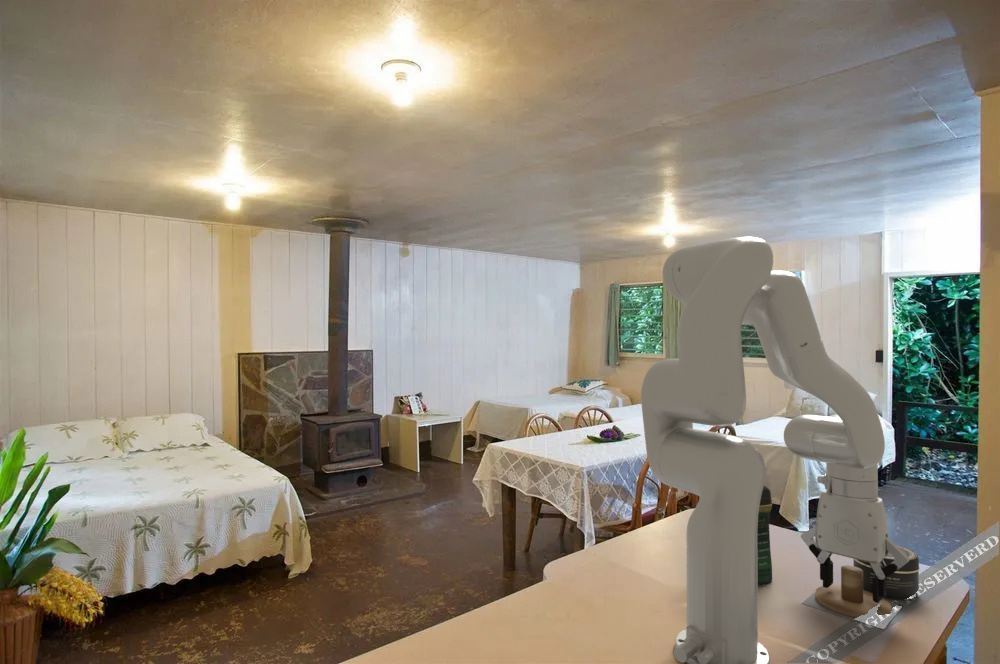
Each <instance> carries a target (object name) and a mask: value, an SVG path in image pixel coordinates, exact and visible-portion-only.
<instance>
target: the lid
mask: <svg viewBox="0 0 1000 664" xmlns="http://www.w3.org/2000/svg"><path fill="white" fill-rule="evenodd" d="M840 581H841V582H840V585H839V584H837V585H835V584H832V585H831V586H829V587H828V588H824V587H823V585H822V586H819V587H817V588H816V589H815V592H814V593H815V598H816V601H817V602H818V603H819V604H820V605H822V606H823V607H825V608H826V609H828V610H830V611H833V612H835V613H838V614H841V615H844V616H847V617H851V618H857V617H859V616H861V615H865V614H867V613H868V611H869V610H870V609H872V608H873V607H875V606H877V605H878V604H880V603H881V604H880V607H878V610H877V614H878V615H885V614H890V613H891V611H892V608H891V605H890V603H889V602H890V601H888V600H887V599H886V598H882V599H881V601H880V602H879V603H876V602H874V601H873V593H871V592H868V591H865V590H863V570H862V569H860V568H857V567H854V565H841V567H840Z"/></svg>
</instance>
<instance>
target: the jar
mask: <svg viewBox="0 0 1000 664" xmlns="http://www.w3.org/2000/svg"><path fill="white" fill-rule="evenodd" d="M895 545H896V546H897V547H898V548H899V549H900V550H901V551H902V552H903V553H905V554H906V555H907V556H908V557H909V561H908V562H907V563H906V564H905V565H904V566H902V567H901V568H899V569H898V570H897V571H896V572H894V573H892V574H891V575H889V576H887V577H886V587H887V593H886V597H885V598H884V597H883V598H884V599H888V598H889V599H890V600H896V601H905V600H904V599H907V598H909V597H910V596H912V595H914V594H915V593H916V592H917V591H918V592H919V586H920V583H919V582H920V581H919V580H920V579H919V578H920V576H919V571H920V563H919V562H920V561H919V556H918V554H916V552H914V551H913V550H911V549H908V548H906V547H903V546H899V545H897V544H895ZM883 560H884V562H885V564H886V566H887V565H888V564H890V563H891V562H893V561H894V560H895V558H894V556H893V555H892V554H891V553H890V552H889V553H888V555H887V556H886V557H884V559H883ZM853 566H854V567H857V568H860V569H862V570H863V590H865V591H868V592H871V593H873V577H874V576H875V572H874V570H873V568H872V566H871V564H870V562H866V561H861V560H857V559H853ZM889 599H888V600H889Z"/></svg>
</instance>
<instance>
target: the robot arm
mask: <svg viewBox="0 0 1000 664" xmlns="http://www.w3.org/2000/svg"><path fill="white" fill-rule="evenodd" d="M773 266H774V255H773V249H772V247H771V246H770V244H769V243H768V242H767V241H766V240H764V239H763V238H759V237H755V236H739V237H738V236H737V237H730V238H726V239H721V240H716V241H710V242H707V243H702V244H696V245H693V246H687V247H683V248H680V249H678V250H675V251H673V252H672V253H671V254H670V255H668V257H667V258H666V260H665V262H664V264H663V267H662V271H661V272H662V279H663V280H662V281H663V284H664V286H665V288H666V290H667V291H668V292H669V294H670V295H671V296H672V297H673V298H674V299H676V300H677V301H678V302H679V303H681V304H683V305H684V306H683V309H682V311H681V313H680V317H679V319H678V327H677V336H678V337H677V339H678V341H677V342H678V356H679V357H678V358H666V359H661V360H659V361H656V362H655V363H654V364H652V365H651V366H650V368H649V369H648V370H647V371H646V373H645V375H644V378H643V381H642V385H641V391H640V399H641V400H640V402H641V412H642V422H643V430H644V431H643V432H644V439H645V440H644V441H645V448H646V449H645V450H646V456H647V463H648V465H649V468H650V470H651V472H652V474H653V476H654V477H655V478H656V479H657V481H659V482H660V483H662V484H664V485H666V486H667V487H671V488H674V489H677V490H679V491H680V490H681V491H683V492H687V493H690V494H693V495H695V496H697V497H699V500H698V503H697V504H696V506H695V508H694V509H693V511H692V513H691V514H690V516H689V518H688V521H687V526H686V628H685V629H683V630H681V631H680V632H678V634H677V635H676V637H675V647H674V649H673V655H674V658H675V659H676V660H677V661H678V662H679V663H686V664H771V657H770V653H769V652H768V649H767V648H766V647H765V646H764V645H763V644H762V643H761V642H760V641H758V639H759V637H758V636H759V633H758V629H759V627H758V626H759V625H758V623H759V622H758V618H759V617H758V616H759V615H758V608H759V607H758V603H759V601H758V600H759V599H758V597H759V596H758V593H759V592H758V590H759V589H758V586H759V585H758V580H757V561H758V559H757V528H758V513H759V505H760V499H761V494H762V490H763V486H765V478H766V463H765V460H764V457H763V455H762V453H761V452H760V450H759V449H758V448H757V446H755V445H754V444H752V443H751V442H750V441H748V440H746V439H743V438H741V437H739V436H736V435H732V434H726V433H721V432H715V431H709V430H700V429H695V428H694V424H698V425H705V426H711V427H712V426H714V427H726V426H731V425H734V424H736V423H738V422H739V421H741V419H742V418H743V416H744V415H745V413H746V412H745V411H746V409H747V390H746V377H745V369H744V359H743V358H744V357H743V348H742V345H743V344H742V326H747V325H749V326H753V327H754V328H755V331H756V333H757V336H758V339H759V342H760V345H761V347H762V350H763V353H764V356H765V359H766V361H767V365H768V368H769V371H771V373H772V374H773V375H774V376H775V377H777V378H778V379H781V380H782V381H784V382H786V383H788V384H790V385H792V386H794V387H795V388H797V389H800V390H802V391H804V392H805V393H808V394H810V395H812V396H814V397H816V398H818V399H819V400H820V401H822V402H823V403H824V404H826V405H827V406H828V407H830V409H832V410H833V411H834V413H836V414H831V415H830V416H829V415H828V416H827V415H826V416H825V415H817V414H802V415H797V416H796V417H793V418H792V419H791V420H789V422H787V424H786V426H785V428H784V430H783V441H784V444H785V446H786V447H787V449H788V451H790V452H791V453H792V454H794V455H795V456H797V457H800V458H802V459H805V460H810V461H814V462H821V463H826V467H825V474H824V475H817V477H816V479H817V483H818V484H822V485H824V489H825V490H821V492H820V495H819V500H818V503H817V511H816V522H815V526H814V527H812V528H810V529H808V530H806V531H805V532H803V533H801V535H800V537H801V539H802V541H803V542H804V543H805V545H806V546H807V548H808V549H809V551H810V552H811V553H812V554H813V556H814V557H815V558H816V561H817V562H818V564H819V579H820V581H822V586H823V587H824V588H828V587H829V586H831V585H834V562H833V560H832V559H831V557H832V555H838V556H842V557H846V558H848V559H849V558H850V559H853V560H854V559H857V560H861V561H866V562H870V564H871V566H872V568H873V570H874V572H875V576H874V577H873V601H874V602H876V603H879V602H880V601H881V599H882V598H883V597H884V599H886V598H885V597H886V593H887V587H886V577H887V576H889V575H891V574H892V573H894V572H896V571H897V570H898V569H899V568H901V567H902V566H904V565H905V564H906V563H907V562H908V561H909V557H908V556H907V555H906V554H905V553H903V552H902V551H901V550H900V549H899V548H898V547H897V546H898V545H897V544H895V543H894V542H893V541H892V540H891V539H890V538H889V530H888V529H889V528H888V521H887V515H886V510H885V509H886V508H885V505H884V502H883V499H882V498H881V497H879V480H878V479H879V478H878V477H879V475H878V474H879V473H878V467H879V465H878V464H879V463H880V462H881V460H882V459H883V456H884V454H885V448H886V446H885V443H886V442H885V436H884V430H883V427H882V423H881V419H880V417H879V413H878V411H877V408H876V407H877V406H876V405H875V402H874V400H873V399H872V397H871V395H870V394H869V392H868V391H867V390H866V389H865V388H864V387H863V386H862V384H860V383H859V382H858V380H856V378H854V377H853V375H851V374H850V373H849V372H848V371H847V370H846V369H845V368H843V367H842V366H841V365H840V364H838V363H837V362H835V360H833V359H832V358H831V357H829V355H828V353H827V351H826V349H825V346H824V342H823V338H822V336H821V334H820V330H819V326H818V323H817V321H816V318H815V314H814V312H813V309H812V306H811V302H810V300H809V296H808V292H807V290H806V287H805V284H804V283H803V281H802V279H801V278H800V277H799V276H798V275H797V274H795V273H793V272H791V271H787V270H773ZM814 537H815V538H814ZM896 545H897V546H896ZM889 552H890V553H891V554H892V555H893V556H894V558H895V560H894V561H893V562H891V563H890V564H888V565H887V566H886V564H885V562H884V560H883V559H884V557H886V556H887V555H888V553H889Z"/></svg>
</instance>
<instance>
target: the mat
mask: <svg viewBox="0 0 1000 664" xmlns="http://www.w3.org/2000/svg"><path fill="white" fill-rule="evenodd" d="M889 602H890V605H891V608H893V607H895V606H896V605H897V603H894V602H891V601H889ZM801 605H804V606H807V607H811V608H814V609H817V610H820V611H823V612H826V613H829V614H833V615H835V616H838V617H841V618H845V619H848V620H851V621H854V620H853V619H855V618H851V617H847V616H844V615H841V614H838V613H835V612H833V611H830V610H828V609H826V608H825V607H823V606H822V605H820V604H819V603H818V602H817V601H816V598H815V592H814V593H812V594H811V595H810V596H809V597H808V598H806V599H805V600H804V601H802V602H801ZM885 630H886V628H885V629H884V630H883V631H885Z"/></svg>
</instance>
